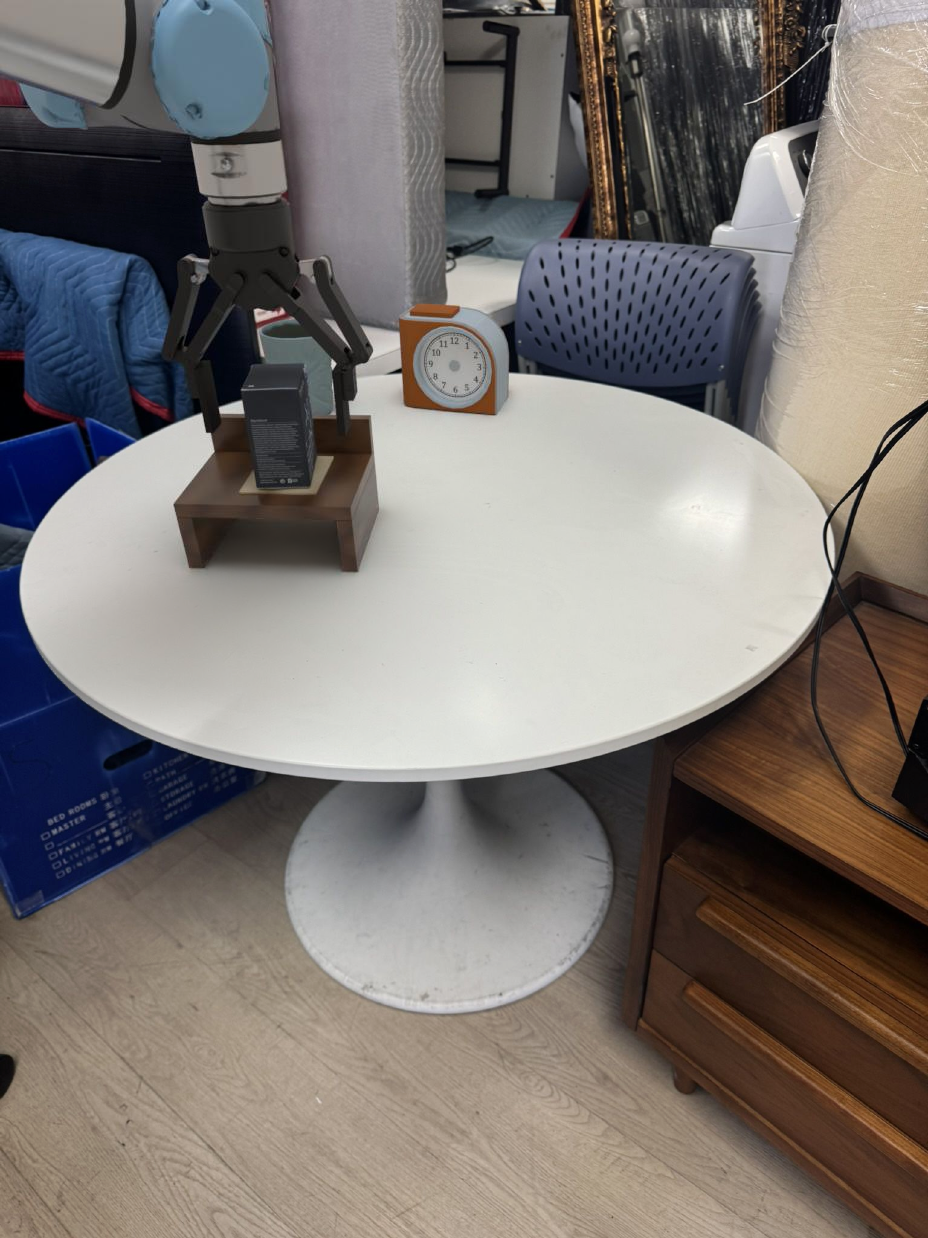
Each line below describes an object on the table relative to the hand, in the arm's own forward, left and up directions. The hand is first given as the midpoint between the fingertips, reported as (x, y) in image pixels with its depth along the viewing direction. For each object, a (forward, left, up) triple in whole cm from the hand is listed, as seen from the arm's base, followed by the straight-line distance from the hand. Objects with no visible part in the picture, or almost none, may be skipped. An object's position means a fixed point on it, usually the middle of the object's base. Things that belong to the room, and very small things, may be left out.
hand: (279, 429), depth 83 cm
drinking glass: (-8, +38, -13) cm, 41 cm away
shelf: (-1, 0, -13) cm, 13 cm away
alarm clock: (+14, +42, -13) cm, 46 cm away
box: (0, 0, -5) cm, 5 cm away
